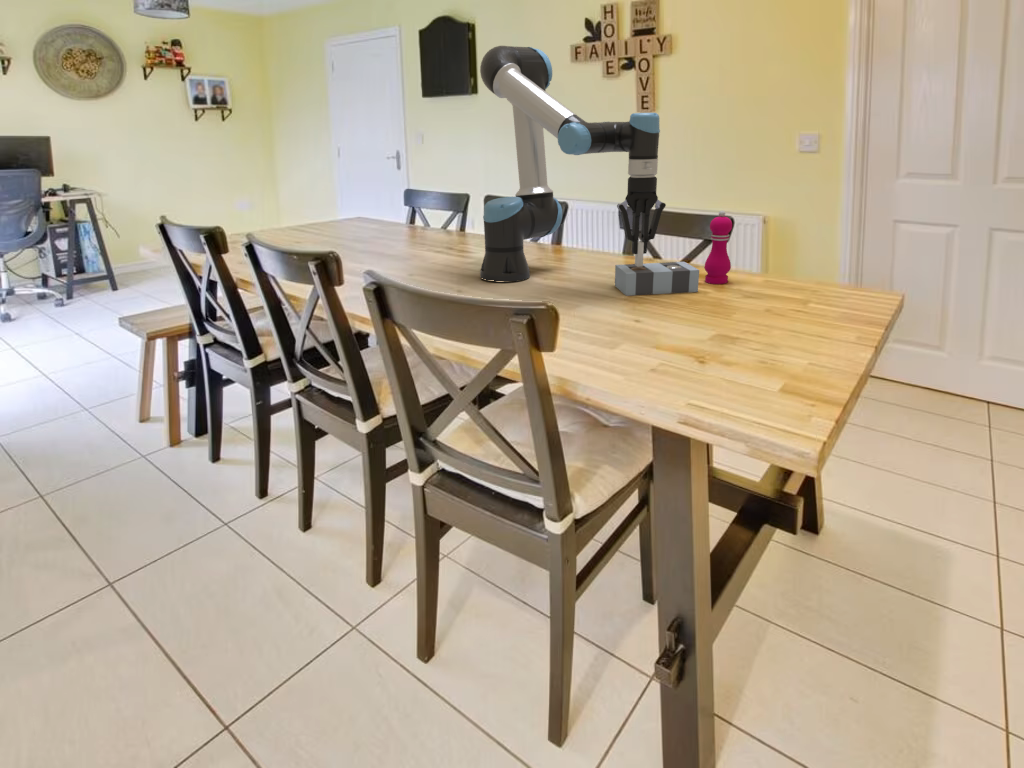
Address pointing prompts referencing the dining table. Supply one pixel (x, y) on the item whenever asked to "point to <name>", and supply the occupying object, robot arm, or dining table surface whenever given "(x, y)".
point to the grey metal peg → (673, 266)
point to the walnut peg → (638, 268)
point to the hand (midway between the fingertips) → (638, 265)
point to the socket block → (656, 279)
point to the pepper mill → (718, 251)
